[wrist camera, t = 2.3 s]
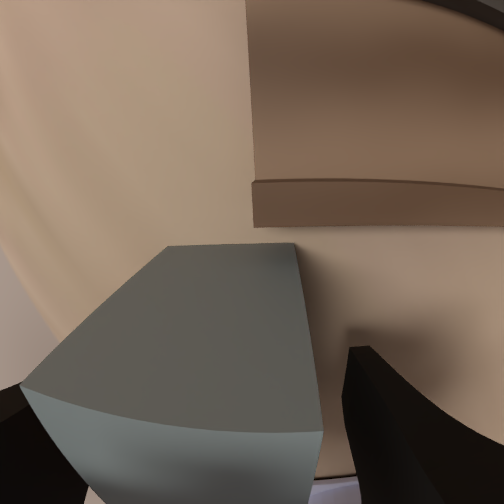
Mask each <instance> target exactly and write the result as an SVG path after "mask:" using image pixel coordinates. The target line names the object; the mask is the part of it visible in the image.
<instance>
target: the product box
mask: <svg viewBox="0 0 504 504" xmlns="http://www.w3.org/2000/svg"><path fill="white" fill-rule="evenodd" d="M19 386H20V388H21V390H22V392H23V393H24V395H25V397H26V399H27V400H28V402H29V404H30V406H31V407H32V409H33V411H34V412H35V414H36V415H37V417H38V419H39V420H40V422H41V423H42V425H43V426H44V428H45V429H46V431H47V432H48V434H49V435H50V437H51V438H52V440H53V441H54V442H55V444H56V445H57V447H58V448H59V449H60V451H61V452H62V453H63V455H64V456H65V457H66V459H67V460H68V461H69V462H70V464H71V465H72V466H73V468H74V469H75V470H76V471H77V472H78V474H79V475H80V476H81V477H82V478H83V479H84V481H85V482H86V483H87V484H88V485H89V486H90V487H91V489H92V490H93V491H94V492H95V493H96V494H97V495H98V496H99V497H100V498H101V499H102V500H103V501H104V502H105V503H106V504H308V501H309V497H310V493H311V489H312V485H313V481H314V476H315V472H316V467H317V463H318V458H319V453H320V448H321V443H322V438H323V432H324V429H323V421H322V413H321V406H320V398H319V391H318V384H317V377H316V370H315V363H314V356H313V350H312V343H311V337H310V331H309V325H308V319H307V313H306V307H305V301H304V295H303V290H302V284H301V278H300V273H299V268H298V262H297V257H296V252H295V246H294V243H258V244H222V245H188V246H167V247H166V248H165V249H164V250H163V251H162V252H160V253H159V254H158V255H157V256H156V257H154V258H153V259H152V260H151V261H150V262H149V263H147V264H146V265H145V266H144V267H143V268H142V269H141V270H139V271H138V272H137V273H136V274H135V275H134V276H133V277H131V278H130V279H129V280H128V281H127V282H126V283H125V284H123V285H122V286H121V287H120V288H119V289H118V290H117V291H116V292H115V293H113V294H112V295H111V296H110V297H109V298H108V299H107V300H106V301H105V302H103V303H102V304H101V305H100V306H99V307H98V308H97V309H96V310H95V311H94V312H93V313H92V314H91V315H89V316H88V317H87V318H86V319H85V320H84V321H83V322H82V323H81V324H80V325H79V326H78V327H77V328H76V329H75V330H74V331H73V332H71V333H70V334H69V335H68V336H67V337H66V338H65V339H64V340H63V341H62V342H61V343H60V344H59V345H58V346H57V347H56V348H55V349H54V350H53V351H52V352H51V353H50V354H49V355H48V356H47V357H46V358H45V359H44V360H43V361H42V362H41V363H40V364H39V365H38V366H37V367H36V368H35V369H34V370H33V371H32V372H31V373H30V374H29V375H28V377H27V378H26V379H25V380H24V381H23V382H22V383H21V384H20V385H19Z"/></svg>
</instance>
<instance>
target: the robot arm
mask: <svg viewBox="0 0 504 504" xmlns="http://www.w3.org/2000/svg"><path fill="white" fill-rule="evenodd" d="M22 382H23V381H22ZM22 382H20V383H18V384H16V385H13V386H11V387H8V388H6V389H3V390H1V391H0V504H84V501H85V497H86V493H87V490H88V487H89V485H88V484H87V483H86V482H85V481H84V479H83V478H82V477H81V476H80V475H79V474H78V472H77V471H76V470H75V469H74V468H73V466H72V465H71V464H70V462H69V461H68V460H67V459H66V457H65V456H64V455H63V453H62V452H61V451H60V449H59V448H58V447H57V445H56V444H55V442H54V441H53V440H52V438H51V437H50V435H49V434H48V432H47V431H46V429H45V428H44V426H43V425H42V423H41V422H40V420H39V419H38V417H37V415H36V414H35V412H34V411H33V409H32V407H31V406H30V404H29V402H28V400H27V399H26V397H25V395H24V393H23V392H22V390H21V388H20V386H19V385H20V384H21V383H22ZM341 398H342V406H343V415H344V423H345V428H346V432H347V436H348V440H349V445H350V449H351V453H352V457H353V461H354V465H355V469H356V474H357V476H354V477H346V478H338V479H327V480H314V481H313V485H312V489H311V493H310V497H309V501H308V504H504V445H502V444H499V443H497V442H495V441H493V440H491V439H489V438H487V437H485V436H483V435H481V434H479V433H477V432H475V431H474V430H472V429H470V428H468V427H467V426H465V425H464V424H462V423H461V422H459V421H457V420H456V419H454V418H453V417H451V416H450V415H448V414H447V413H445V412H444V411H443V410H441V409H440V408H439V407H437V406H436V405H435V404H433V403H432V402H431V401H430V400H428V399H427V398H426V397H425V396H423V395H422V394H421V393H420V392H419V391H417V390H416V389H415V388H414V387H413V386H412V385H410V384H409V383H408V382H407V381H406V380H405V379H404V378H403V377H402V376H401V375H400V374H398V373H397V372H396V371H395V370H394V369H393V368H392V367H391V366H390V365H389V364H388V363H387V362H386V361H385V360H384V359H383V358H382V357H381V356H380V355H379V354H378V353H377V352H376V351H375V350H374V349H372V348H371V347H370V346H359V347H349V354H348V361H347V367H346V373H345V379H344V385H343V391H342V396H341Z"/></svg>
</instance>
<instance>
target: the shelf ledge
mask: <svg viewBox="0 0 504 504" xmlns="http://www.w3.org/2000/svg"><path fill="white" fill-rule="evenodd" d="M245 2H246V18H247V35H248V52H249V69H250V87H251V105H252V124H253V143H254V163H255V181H254V182H252V202H253V222H254V228H259V227H297V226H359V225H447V226H502V227H504V0H245Z"/></svg>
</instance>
